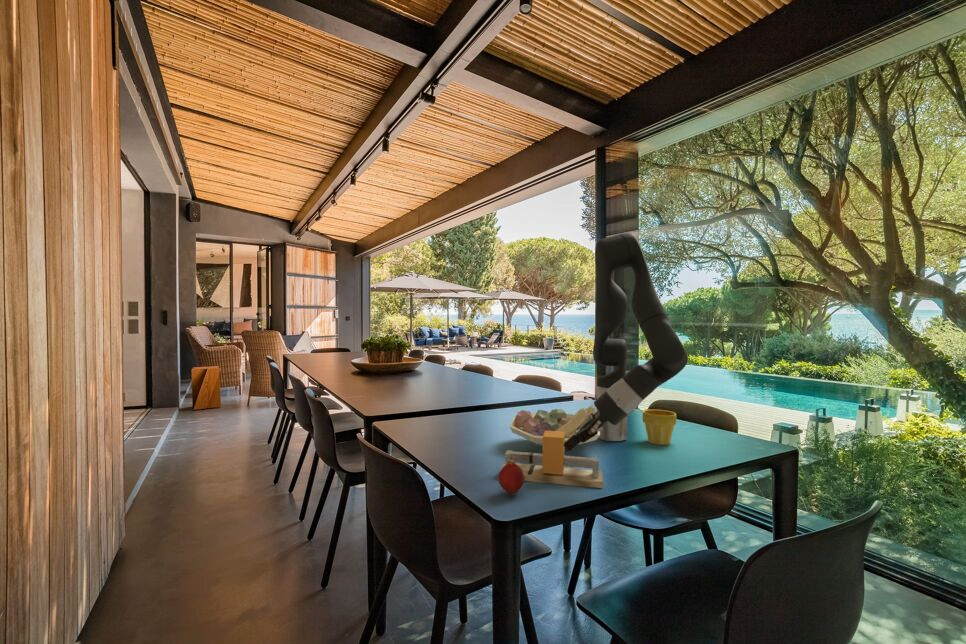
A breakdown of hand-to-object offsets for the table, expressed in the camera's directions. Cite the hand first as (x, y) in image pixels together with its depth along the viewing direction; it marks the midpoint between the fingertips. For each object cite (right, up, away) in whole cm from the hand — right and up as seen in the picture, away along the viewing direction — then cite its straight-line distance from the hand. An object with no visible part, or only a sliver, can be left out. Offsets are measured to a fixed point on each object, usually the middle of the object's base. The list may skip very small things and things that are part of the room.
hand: (566, 447), depth 115 cm
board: (-4, -8, +1) cm, 9 cm away
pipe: (-4, -6, +1) cm, 7 cm away
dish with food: (+1, -8, +27) cm, 28 cm away
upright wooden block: (-3, -6, +1) cm, 7 cm away
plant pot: (+36, -8, +35) cm, 51 cm away
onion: (-14, -8, -10) cm, 19 cm away
